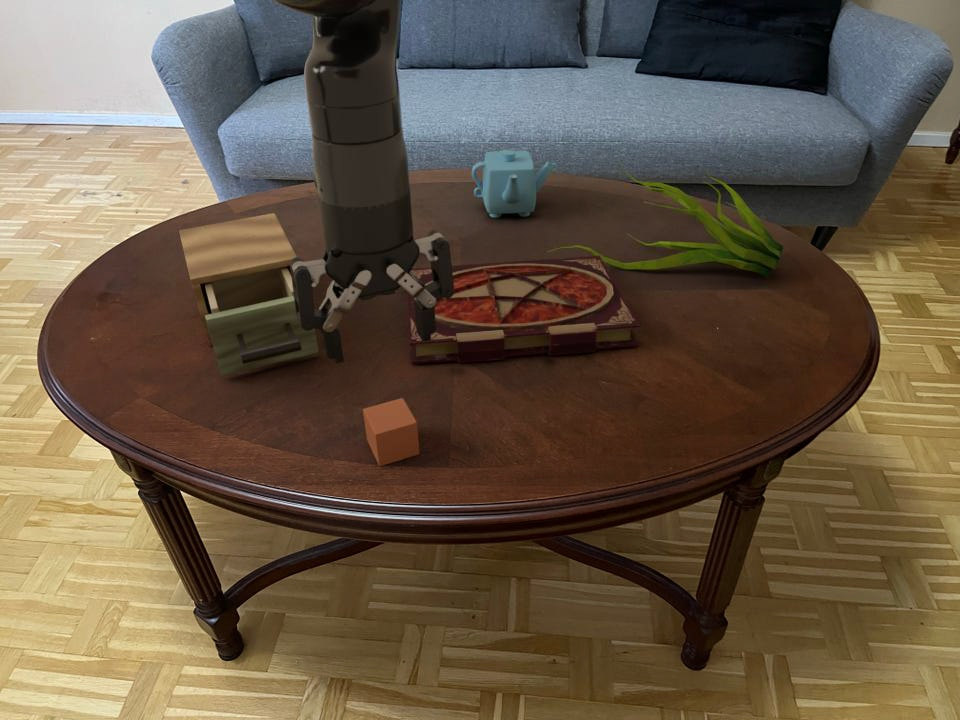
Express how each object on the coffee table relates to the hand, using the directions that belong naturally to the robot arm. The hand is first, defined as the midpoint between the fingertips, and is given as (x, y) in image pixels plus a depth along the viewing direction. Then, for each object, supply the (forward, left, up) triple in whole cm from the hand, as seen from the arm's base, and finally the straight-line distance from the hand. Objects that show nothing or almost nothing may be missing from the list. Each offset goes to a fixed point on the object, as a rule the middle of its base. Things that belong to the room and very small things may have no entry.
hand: (381, 347), depth 68 cm
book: (+23, +18, -13) cm, 32 cm away
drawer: (-9, +23, -12) cm, 28 cm away
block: (0, 0, -13) cm, 13 cm away
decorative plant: (+49, +20, -13) cm, 54 cm away
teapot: (+38, +49, -13) cm, 63 cm away
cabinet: (-9, +35, -13) cm, 38 cm away
